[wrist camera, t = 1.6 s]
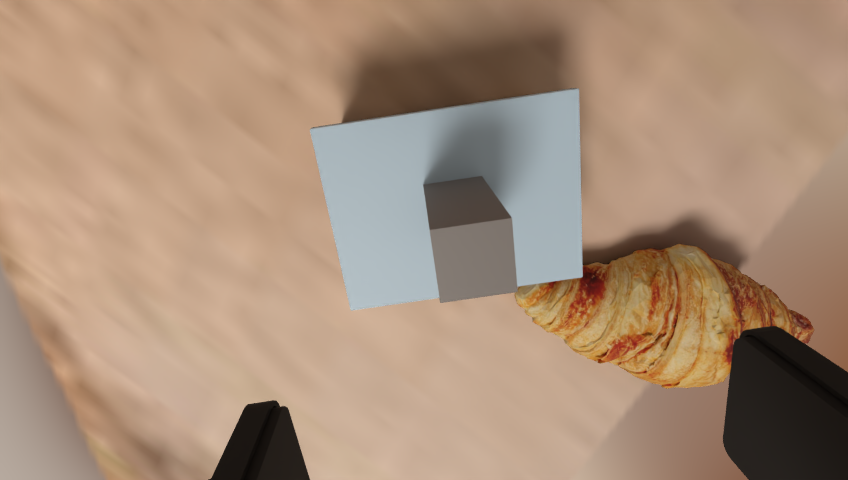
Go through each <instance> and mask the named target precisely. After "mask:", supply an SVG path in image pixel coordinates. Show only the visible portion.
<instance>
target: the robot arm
mask: <svg viewBox="0 0 848 480" xmlns="http://www.w3.org/2000/svg"><path fill="white" fill-rule="evenodd" d="M723 443H724V447H725V450H726V452H727V454H728V455H729V457H730V458H731V460H732V461H733V462H734V463H735V464H736V465H737V467H738V468H739V469H740V470H741V471H742V472H743V473H744V475H745V476H746V477H747V478H748V479H749V480H848V372H847V371H845V370H844V369H842V368H840V367H839V366H837V365H836V364H834V363H833V362H831V361H830V360H828V359H827V358H825V357H824V356H822V355H821V354H819V353H818V352H816V351H815V350H813V349H812V348H810V347H809V346H807V345H806V344H804V343H803V342H801V341H800V340H798V339H797V338H795V337H794V336H792V335H791V334H789V333H788V332H786V331H785V330H783V329H782V328H779V327H777V326H767V327H761V328H754V329H747V330H744V331H743V332H742V333H741V334H740V337H739V338H738V339H736V340H735V341H734V344H733V352H732V361H731V370H730V379H729V388H728V397H727V406H726V416H725V426H724V434H723ZM208 480H310V479H309V475H308V472H307V469H306V466H305V462H304V459H303V456H302V452H301V449H300V446H299V443H298V439H297V436H296V433H295V429H294V426H293V423H292V420H291V416H290V413H289V410H288V408H287V407H286V406H282V407H280V406H279V403H278V402H277V401H274V400H273V401H267V402H260V403H253V404H248V405H247V406H246V407H245V408H244V410H243V412H242V414H241V416H240V419H239V421H238V423H237V425H236V427H235V429H234V431H233V433H232V436H231V438H230V440H229V442H228V444H227V446H226V448H225V450H224V452H223V455H222V457H221V459H220V461H219V463H218V465H217V467H216V469H215V472H214V474H213V476H212V478H211V479H208Z"/></svg>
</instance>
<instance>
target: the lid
mask: <svg viewBox="0 0 848 480" xmlns="http://www.w3.org/2000/svg"><path fill="white" fill-rule="evenodd" d="M310 133H311V137H312V141H313V146H314V150H315V155H316V159H317V164H318V168H319V172H320V177H321V181H322V186H323V190H324V194H325V199H326V203H327V208H328V212H329V216H330V221H331V225H332V230H333V234H334V238H335V243H336V247H337V252H338V256H339V261H340V265H341V269H342V274H343V278H344V283H345V287H346V291H347V296H348V300H349V305H350V309H351V311H352V310H358V309H365V308H372V307H379V306H386V305H393V304H400V303H407V302H414V301H421V300H428V299H435V298H440V303H443V302H450V301H457V300H464V299H471V298H478V297H485V296H492V295H499V294H506V293H513V292H518V289H517V287H518V286H525V285H532V284H539V283H546V282H553V281H560V280H567V279H574V278H581V277H583V265H582V215H581V166H580V116H579V89H577V88H570V89H564V90H557V91H551V92H544V93H537V94H531V95H524V96H517V97H511V98H504V99H498V100H491V101H484V102H478V103H471V104H464V105H458V106H451V107H444V108H438V109H431V110H425V111H418V112H411V113H405V114H398V115H391V116H385V117H378V118H371V119H365V120H358V121H352V122H345V123H338V124H332V125H325V126H318V127H313V128H311V129H310Z"/></svg>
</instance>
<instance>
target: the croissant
mask: <svg viewBox="0 0 848 480" xmlns="http://www.w3.org/2000/svg"><path fill="white" fill-rule="evenodd" d="M515 298H516V301H517V304H518V305H519V306H520V307H522V308H524V309H525V313H526V314H527V315H529V316H531V317H532V318H533V322H534V323H535V324H537V325H540V326H541V327H542V328H543V329H544V330H545V331H547V332H552V333H554V334H556V335H558V336H559V337H561V338H562V339H564V341H565V343H566V344H567V345H568V346H569V347H570V348H571V349H572V350H573V351H575V352H577V353H579V354H580V355H584V356H586V357H587V358H588V359H592V360H594V361H598V363H605V362H610V363H613V364H614V365H618V366H619V367H621V368H622V369H624V370H626V371H627V372H629V373H631V374H632V375H634V376H635V377H638V378H640V379H643V380H646V381H648V382H651V383H654V384H660V385H662V387H665V388H666V389H667V388H672V387H684V388H690V387H701V386H708V385H713V384H717V383H719V382H724V380H725V378H726V377H727V375H728V374H729V373H730V370H731V361H732V352H733V344H734V341H735V340H736V339H738V338H739V337H740V334H741V333H742V332H743V331H744V330H747V329H754V328H761V327H767V326H777V327H779V328H782V329H783V330H785V331H786V332H788V333H789V334H791V335H792V336H794V337H795V338H797V339H798V340H800V341H801V342H803V343H804V344H805V343H808V342H809V341H810V337H811V335H812V334H813V332H814V328H813V326H812V325H811V322H810V321H809V320H808V319H807V318H806V317H804V316H802V315H801V314H799V313H797V312H795V311H792V310H788V309H787V306H786V305H785V304H784V303H783V302H782V301H781V300H780V299H779V297H778V296H777V295H776V294H775V293H774V292H773V291H772V290H771V289H768V288H767V287H766V286H765V285H760V284H758V283H757V282H755V281H754V280H752V279H751V278H750V277H748V276H747V275H744V274H742V273H741V272H740V271H739V270H738V269H737V268H735V267H734V266H733V265H731V264H728V263H725V262H722V261H720V260H717V259H712V258H711V257H710V256H709V255H708V254H707V253H706V252H705V251H703V250H702V249H700V248H699V247H695V246H689V245H682V244H677V245H675V246H673V247H669V248H665V249H662V250H657V249H652V248H649V249H645V250H637V251H634V252H633V254H631V255H628V256H625V257H622V258H618V259H617V260H611V262H610V264H601V263H599V262H595V263H592V264H589V265H583V277H581V278H574V279H567V280H560V281H553V282H546V283H539V284H532V285H525V286H520V287H519V288H518V292H515Z"/></svg>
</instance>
